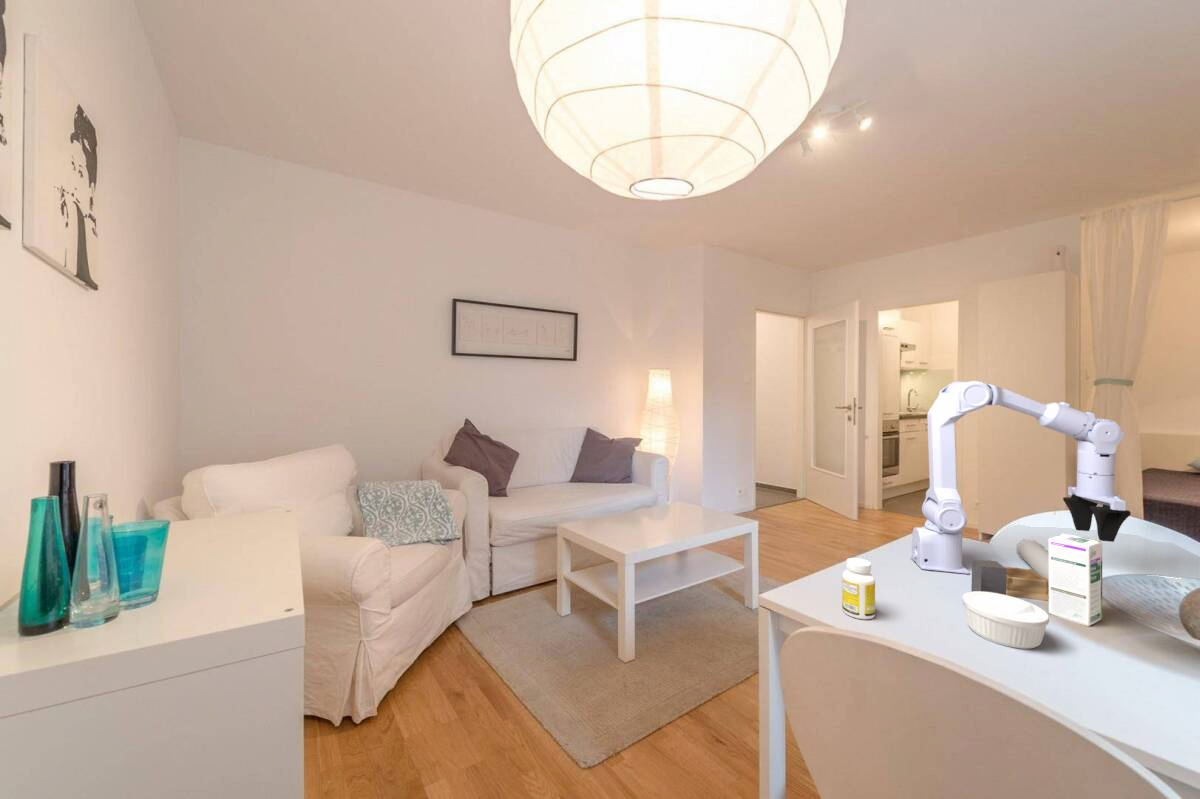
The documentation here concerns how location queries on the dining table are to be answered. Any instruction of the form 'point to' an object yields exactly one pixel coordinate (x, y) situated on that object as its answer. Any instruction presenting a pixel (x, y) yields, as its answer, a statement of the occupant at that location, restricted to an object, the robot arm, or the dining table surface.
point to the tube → (1035, 556)
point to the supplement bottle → (858, 589)
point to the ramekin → (1005, 619)
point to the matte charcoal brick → (988, 576)
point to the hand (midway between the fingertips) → (1094, 535)
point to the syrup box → (1075, 579)
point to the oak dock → (1026, 584)
